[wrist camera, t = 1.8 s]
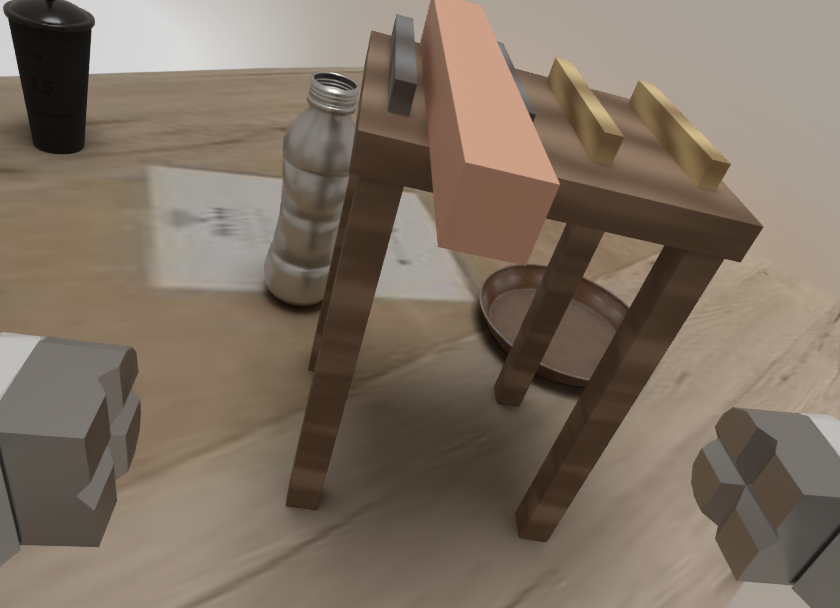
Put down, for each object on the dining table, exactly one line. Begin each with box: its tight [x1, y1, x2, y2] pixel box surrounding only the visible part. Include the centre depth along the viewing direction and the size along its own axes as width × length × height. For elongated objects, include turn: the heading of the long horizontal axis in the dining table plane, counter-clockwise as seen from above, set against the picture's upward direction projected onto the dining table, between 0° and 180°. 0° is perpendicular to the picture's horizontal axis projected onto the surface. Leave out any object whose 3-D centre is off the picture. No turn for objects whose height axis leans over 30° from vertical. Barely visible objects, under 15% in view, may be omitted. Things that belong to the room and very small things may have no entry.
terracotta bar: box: [420, 0, 560, 265], centre depth 30 cm, size 24×3×3 cm, turn 1°
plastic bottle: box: [264, 72, 359, 306], centre depth 55 cm, size 6×7×20 cm
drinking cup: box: [3, 0, 95, 154], centre depth 65 cm, size 8×8×20 cm
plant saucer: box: [479, 264, 630, 387], centre depth 65 cm, size 18×18×3 cm
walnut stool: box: [286, 14, 763, 542], centre depth 42 cm, size 16×19×28 cm
